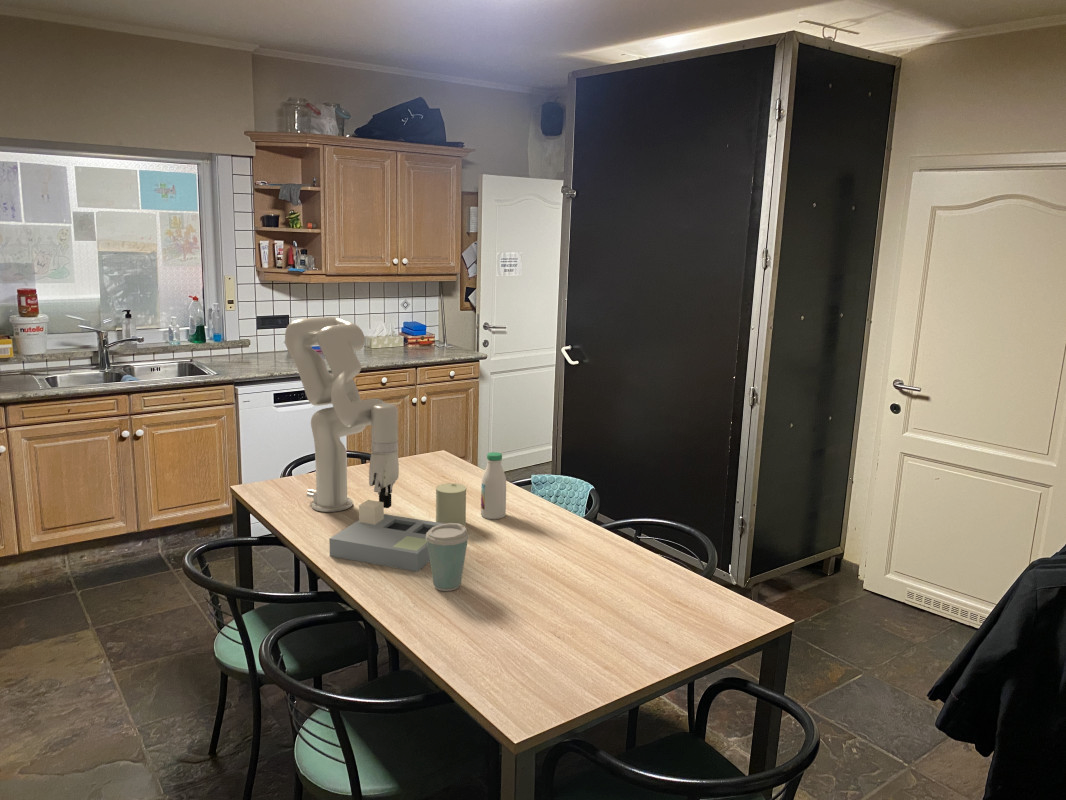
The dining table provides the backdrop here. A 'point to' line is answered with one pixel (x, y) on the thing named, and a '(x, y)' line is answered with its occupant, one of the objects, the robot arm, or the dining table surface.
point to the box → (385, 542)
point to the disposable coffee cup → (447, 554)
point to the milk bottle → (493, 488)
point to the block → (371, 512)
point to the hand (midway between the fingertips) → (385, 506)
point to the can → (451, 503)
